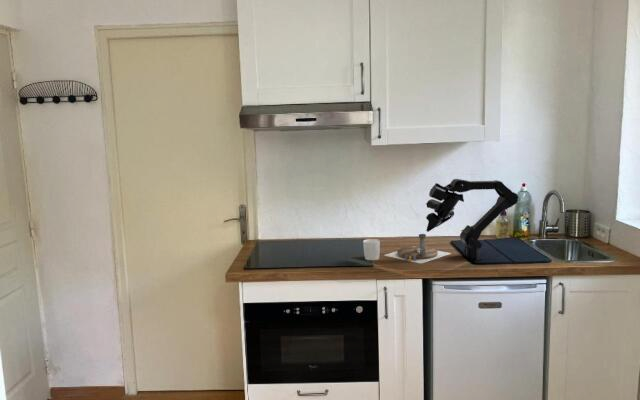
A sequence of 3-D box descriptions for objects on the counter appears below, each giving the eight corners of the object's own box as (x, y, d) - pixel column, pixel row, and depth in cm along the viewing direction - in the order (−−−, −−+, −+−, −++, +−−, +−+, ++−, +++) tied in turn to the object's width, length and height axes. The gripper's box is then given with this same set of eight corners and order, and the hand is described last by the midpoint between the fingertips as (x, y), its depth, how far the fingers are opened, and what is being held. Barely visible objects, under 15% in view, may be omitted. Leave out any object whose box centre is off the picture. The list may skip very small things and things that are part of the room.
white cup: (381, 259, 244) (380, 238, 242) (379, 263, 236) (378, 242, 235) (364, 259, 245) (364, 239, 244) (362, 263, 238) (362, 242, 236)
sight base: (451, 256, 242) (451, 248, 242) (421, 266, 228) (420, 258, 227) (414, 249, 260) (414, 242, 259) (383, 258, 245) (383, 250, 245)
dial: (445, 253, 242) (445, 230, 240) (420, 261, 230) (419, 237, 228) (414, 247, 257) (414, 225, 255) (389, 254, 245) (388, 232, 243)
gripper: (443, 189, 242) (427, 213, 250) (426, 197, 227) (409, 222, 235) (462, 203, 237) (444, 228, 245) (445, 212, 223) (427, 238, 231)
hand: (431, 228), depth 239 cm, fingers open, 9 cm apart
